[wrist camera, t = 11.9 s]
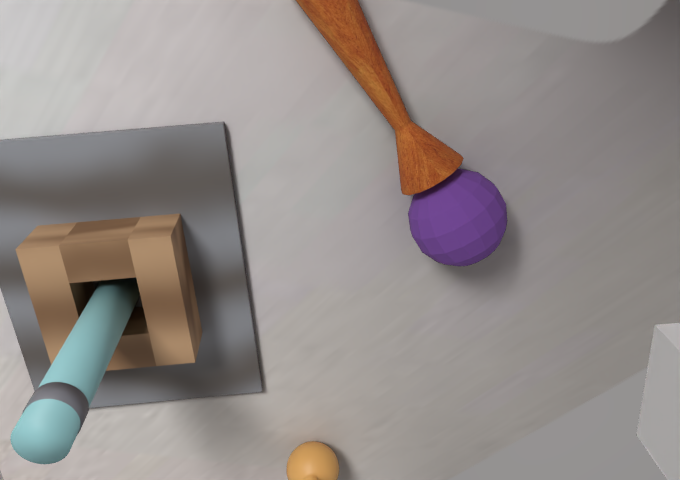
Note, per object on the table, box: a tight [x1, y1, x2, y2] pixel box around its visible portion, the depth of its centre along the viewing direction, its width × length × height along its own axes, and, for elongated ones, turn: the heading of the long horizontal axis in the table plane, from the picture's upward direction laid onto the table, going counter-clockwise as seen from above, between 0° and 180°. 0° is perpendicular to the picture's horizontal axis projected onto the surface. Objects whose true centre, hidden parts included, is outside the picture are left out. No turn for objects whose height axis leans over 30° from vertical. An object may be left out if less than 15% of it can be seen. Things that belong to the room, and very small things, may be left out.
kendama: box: [296, 0, 507, 266], centre depth 37 cm, size 6×6×20 cm
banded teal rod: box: [11, 277, 140, 464], centre depth 35 cm, size 3×3×15 cm
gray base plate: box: [0, 122, 262, 408], centre depth 41 cm, size 20×16×4 cm
